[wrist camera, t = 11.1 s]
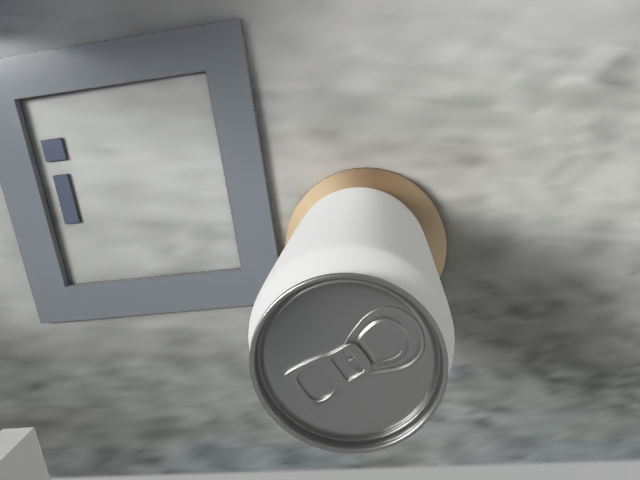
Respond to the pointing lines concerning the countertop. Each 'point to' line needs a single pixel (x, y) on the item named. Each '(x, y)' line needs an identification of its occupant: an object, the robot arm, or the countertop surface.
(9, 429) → the robot arm
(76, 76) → the frame
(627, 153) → the countertop surface
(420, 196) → the coaster
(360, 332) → the can
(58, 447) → the countertop surface
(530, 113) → the countertop surface
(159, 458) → the countertop surface
